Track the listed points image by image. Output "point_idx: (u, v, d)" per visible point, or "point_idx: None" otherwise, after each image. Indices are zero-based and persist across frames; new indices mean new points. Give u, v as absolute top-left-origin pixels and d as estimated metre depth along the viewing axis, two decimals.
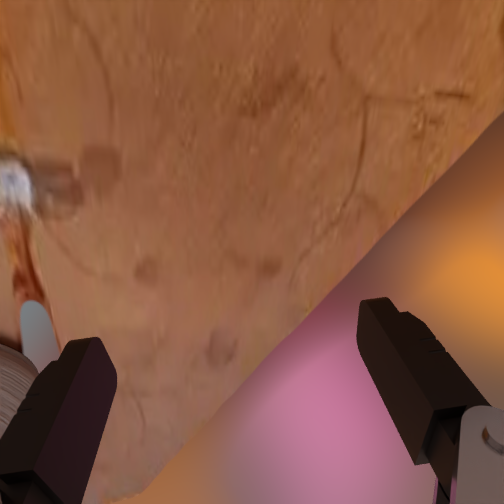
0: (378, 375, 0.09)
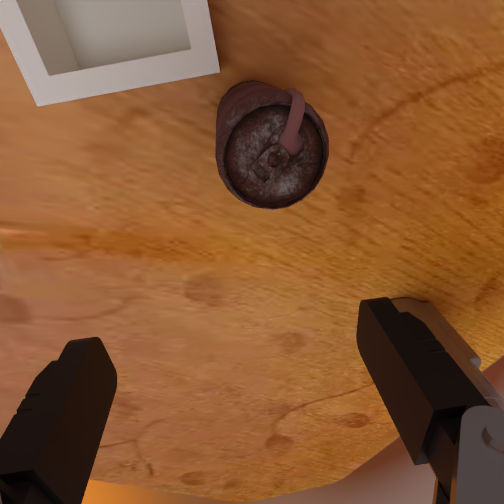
0: (378, 375, 0.09)
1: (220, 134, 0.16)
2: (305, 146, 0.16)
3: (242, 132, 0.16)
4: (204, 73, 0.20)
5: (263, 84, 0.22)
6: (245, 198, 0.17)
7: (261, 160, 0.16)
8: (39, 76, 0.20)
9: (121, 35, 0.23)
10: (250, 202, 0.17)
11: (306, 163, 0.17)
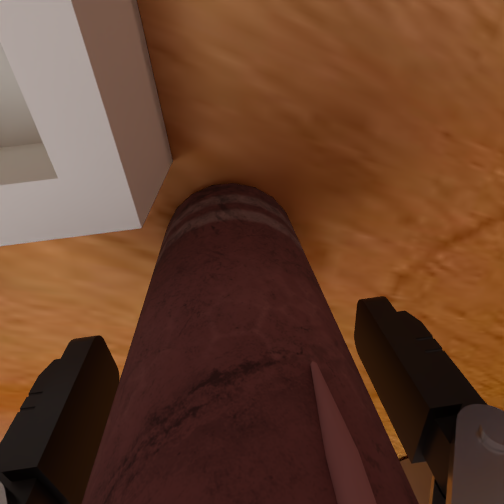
0: (375, 374, 0.09)
1: None
2: None
3: None
4: (100, 229, 0.08)
5: (251, 234, 0.10)
6: None
7: None
8: None
9: None
10: None
11: None
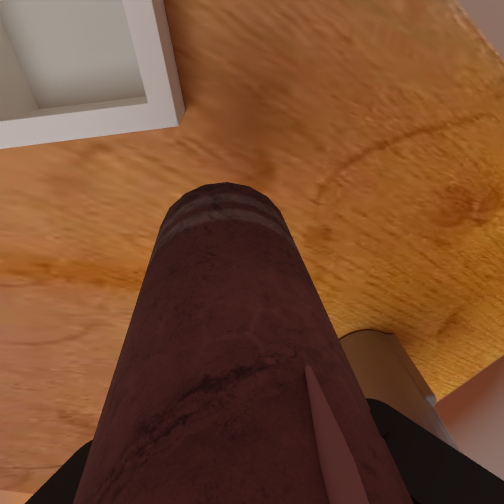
0: None
1: None
2: None
3: None
4: (161, 126, 0.20)
5: (244, 234, 0.10)
6: None
7: None
8: None
9: (81, 74, 0.23)
10: None
11: None
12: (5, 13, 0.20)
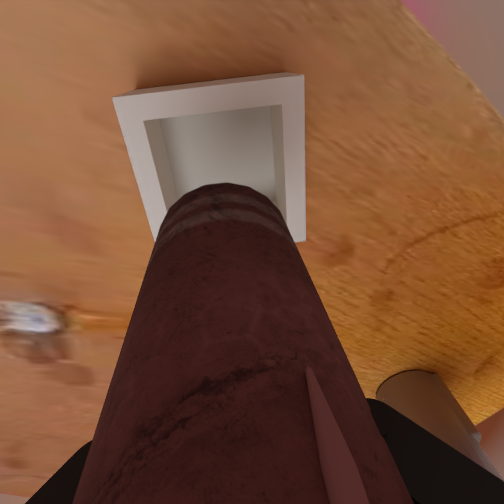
0: None
1: None
2: None
3: None
4: None
5: (244, 234, 0.10)
6: None
7: None
8: None
9: None
10: None
11: None
12: (171, 151, 0.27)
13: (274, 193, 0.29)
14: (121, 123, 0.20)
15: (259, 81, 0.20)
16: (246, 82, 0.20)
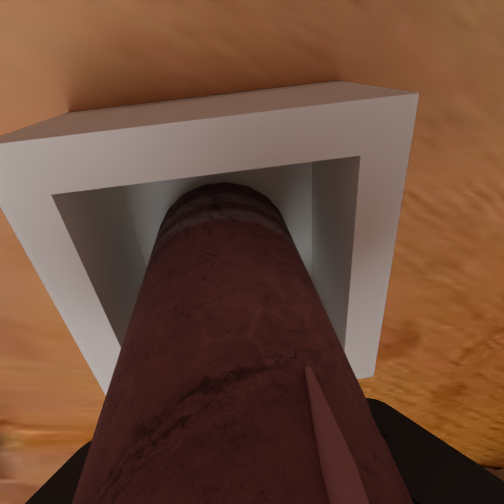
0: None
1: None
2: None
3: None
4: None
5: (243, 234, 0.10)
6: None
7: None
8: None
9: None
10: None
11: None
12: (139, 217, 0.15)
13: (310, 274, 0.18)
14: (2, 201, 0.09)
15: (316, 108, 0.08)
16: (285, 110, 0.09)
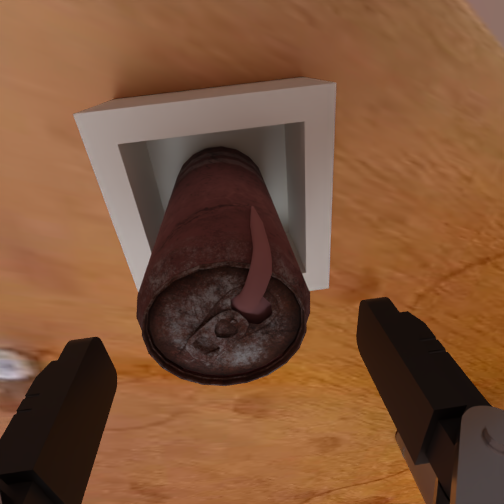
0: (378, 375, 0.09)
1: (141, 292, 0.10)
2: (273, 311, 0.11)
3: (173, 296, 0.10)
4: (313, 288, 0.21)
5: (229, 168, 0.16)
6: (182, 372, 0.12)
7: (205, 331, 0.11)
8: None
9: None
10: (191, 377, 0.12)
11: (275, 330, 0.11)
12: (161, 175, 0.21)
13: (287, 223, 0.24)
14: (88, 148, 0.15)
15: (275, 91, 0.14)
16: (257, 92, 0.14)
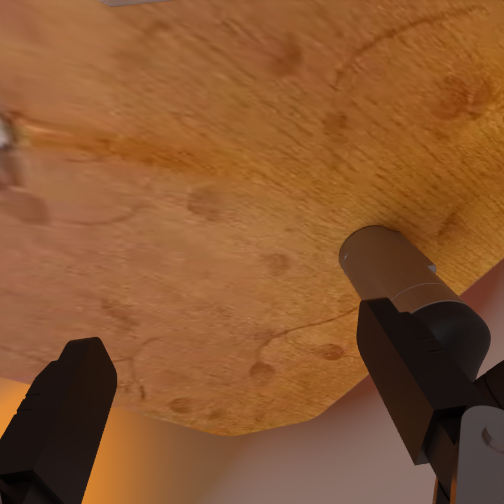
0: (378, 375, 0.09)
1: None
2: None
3: None
4: None
5: None
6: None
7: None
8: None
9: None
10: None
11: None
12: None
13: None
14: None
15: None
16: None
